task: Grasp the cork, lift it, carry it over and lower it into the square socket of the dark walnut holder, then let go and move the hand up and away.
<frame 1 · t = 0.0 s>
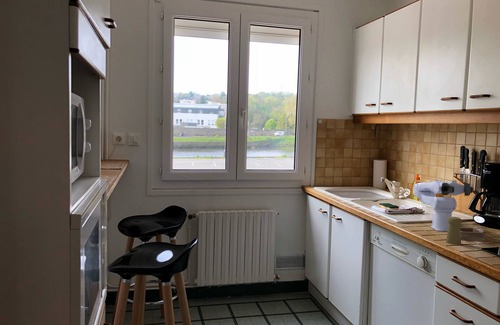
hand: (462, 190, 184), 22 cm above the worktop, tool horizontal, fingers open, 7 cm apart
cork: (453, 243, 180), on the worktop
holder: (467, 237, 189), on the worktop
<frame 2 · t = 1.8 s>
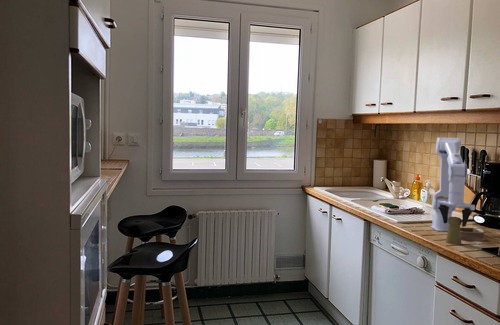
hand: (454, 224, 179), 8 cm above the worktop, tool pointing down, fingers open, 7 cm apart
nothing on the worktop moved.
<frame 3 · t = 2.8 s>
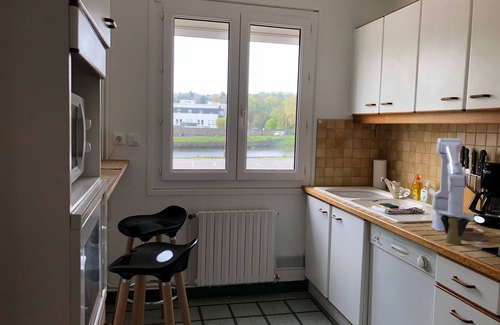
hand: (453, 234, 180), 3 cm above the worktop, tool pointing down, fingers closed on cork, 5 cm apart
cork: (453, 243, 180), on the worktop, touching gripper
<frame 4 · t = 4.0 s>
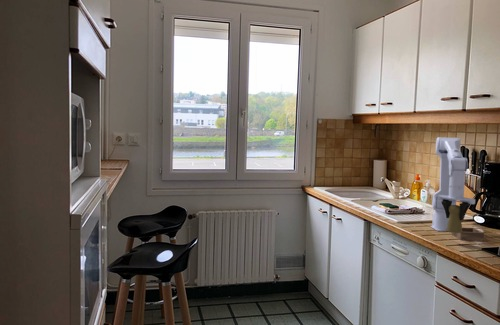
hand: (454, 218, 179), 10 cm above the worktop, tool pointing down, fingers closed on cork, 5 cm apart
cork: (454, 231, 179), point 5 cm above the worktop, touching gripper
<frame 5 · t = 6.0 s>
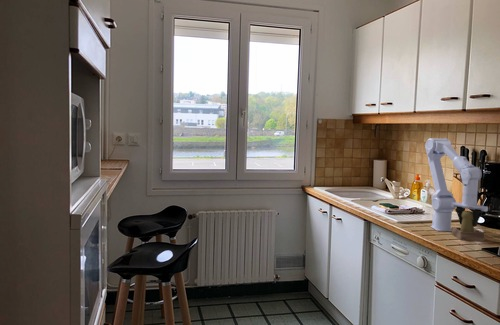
hand: (468, 225, 189), 6 cm above the worktop, tool pointing down, fingers closed on cork, 5 cm apart
cork: (466, 236, 189), point 1 cm above the worktop, touching gripper, holder
when the fingers open (6 cm above the worktop, at t = 6.8 s): cork stays where it is, resting on holder.
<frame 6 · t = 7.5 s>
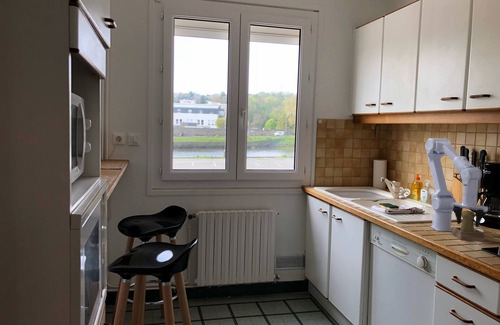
hand: (468, 225, 189), 6 cm above the worktop, tool pointing down, fingers open, 7 cm apart
cork: (466, 236, 189), point 1 cm above the worktop, touching holder
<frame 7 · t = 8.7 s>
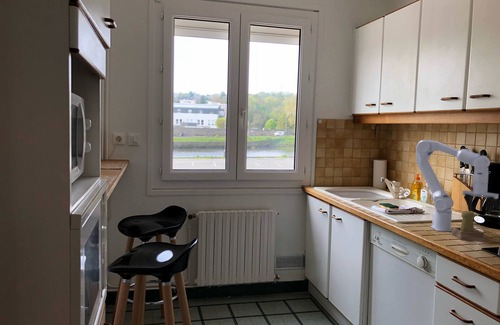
hand: (479, 212, 194), 10 cm above the worktop, tool pointing down, fingers open, 7 cm apart
nothing on the worktop moved.
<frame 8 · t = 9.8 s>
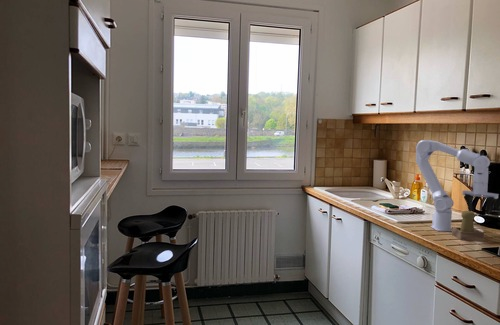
hand: (479, 212, 194), 10 cm above the worktop, tool pointing down, fingers open, 7 cm apart
nothing on the worktop moved.
at the end: cork 0.9 cm off-centre on the holder, point 0.8 cm above the holder's base; cork tilted 0°; the gripper is holding nothing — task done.
